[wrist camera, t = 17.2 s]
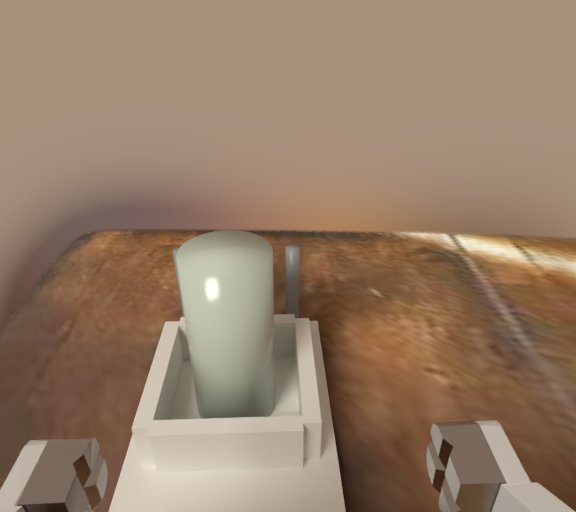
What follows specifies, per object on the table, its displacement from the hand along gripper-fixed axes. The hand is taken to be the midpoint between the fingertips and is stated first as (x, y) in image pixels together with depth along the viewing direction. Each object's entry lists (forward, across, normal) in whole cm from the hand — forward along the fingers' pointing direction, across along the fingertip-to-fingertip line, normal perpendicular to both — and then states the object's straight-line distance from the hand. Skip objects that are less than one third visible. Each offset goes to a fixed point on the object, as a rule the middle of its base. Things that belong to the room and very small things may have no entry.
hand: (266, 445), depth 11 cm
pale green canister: (+13, +3, +13) cm, 19 cm away
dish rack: (+14, +3, +14) cm, 20 cm away
